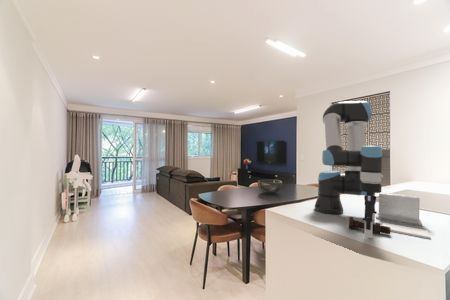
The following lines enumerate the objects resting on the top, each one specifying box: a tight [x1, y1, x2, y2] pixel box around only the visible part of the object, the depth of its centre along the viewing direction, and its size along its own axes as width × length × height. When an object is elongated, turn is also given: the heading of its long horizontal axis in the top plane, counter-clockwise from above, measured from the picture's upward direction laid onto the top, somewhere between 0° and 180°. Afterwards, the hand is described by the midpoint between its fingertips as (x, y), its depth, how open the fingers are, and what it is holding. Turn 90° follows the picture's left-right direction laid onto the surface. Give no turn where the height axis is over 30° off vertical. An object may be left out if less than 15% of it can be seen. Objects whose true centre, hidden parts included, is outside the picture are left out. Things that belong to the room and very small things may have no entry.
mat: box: [381, 222, 432, 240], centre depth 97 cm, size 16×10×1 cm, turn 53°
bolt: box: [348, 216, 391, 235], centre depth 96 cm, size 6×5×15 cm
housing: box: [375, 191, 423, 228], centre depth 113 cm, size 18×10×13 cm, turn 53°
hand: (369, 232), depth 92 cm, fingers open, 13 cm apart
